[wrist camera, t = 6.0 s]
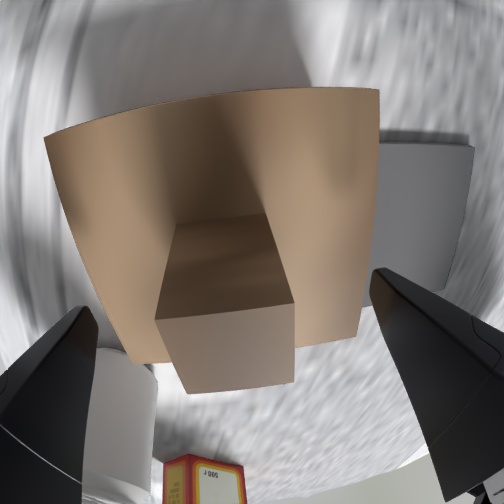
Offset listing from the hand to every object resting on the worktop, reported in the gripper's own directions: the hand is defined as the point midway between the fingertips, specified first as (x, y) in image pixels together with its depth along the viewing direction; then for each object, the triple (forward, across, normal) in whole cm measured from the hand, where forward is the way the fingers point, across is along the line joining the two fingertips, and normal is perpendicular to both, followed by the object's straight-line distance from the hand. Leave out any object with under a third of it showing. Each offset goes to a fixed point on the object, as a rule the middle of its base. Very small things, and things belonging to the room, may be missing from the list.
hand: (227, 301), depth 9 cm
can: (+8, +11, +13) cm, 19 cm away
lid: (+3, 0, 0) cm, 3 cm away
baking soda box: (+8, +9, +38) cm, 40 cm away
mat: (+8, -11, +3) cm, 14 cm away
